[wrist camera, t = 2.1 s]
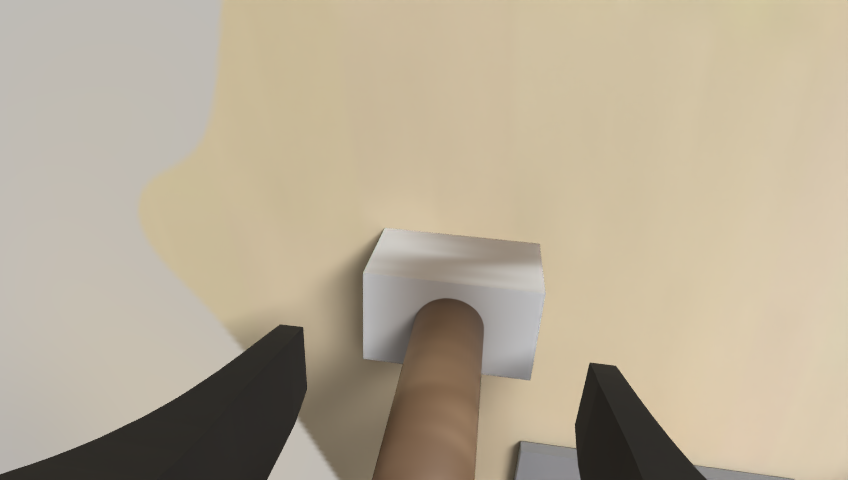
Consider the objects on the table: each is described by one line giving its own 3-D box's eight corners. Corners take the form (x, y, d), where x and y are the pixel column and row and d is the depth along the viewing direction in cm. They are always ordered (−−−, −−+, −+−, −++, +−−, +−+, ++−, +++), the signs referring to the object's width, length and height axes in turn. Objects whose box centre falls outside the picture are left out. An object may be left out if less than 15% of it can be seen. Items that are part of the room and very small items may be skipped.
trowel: (539, 243, 17) (574, 535, 8) (526, 321, 18) (545, 644, 10) (384, 227, 18) (260, 485, 9) (383, 304, 19) (274, 596, 10)
